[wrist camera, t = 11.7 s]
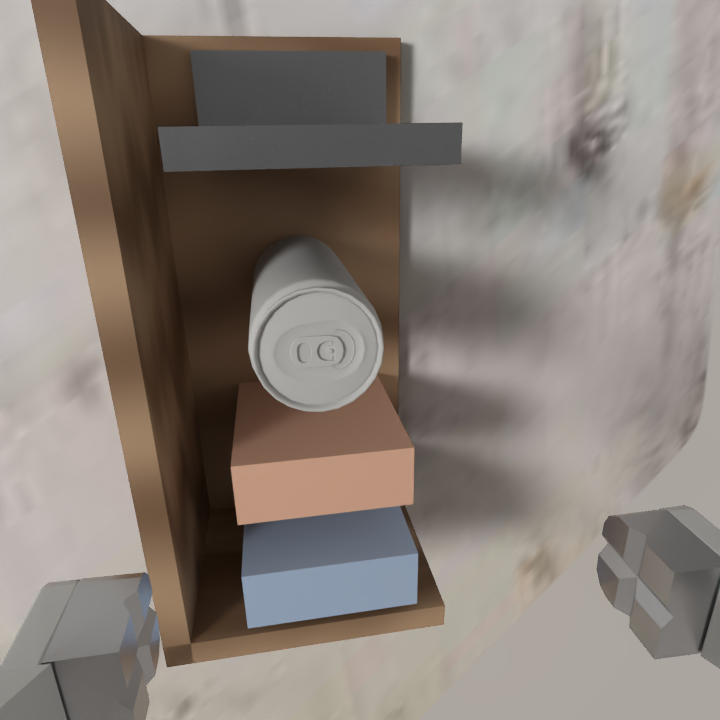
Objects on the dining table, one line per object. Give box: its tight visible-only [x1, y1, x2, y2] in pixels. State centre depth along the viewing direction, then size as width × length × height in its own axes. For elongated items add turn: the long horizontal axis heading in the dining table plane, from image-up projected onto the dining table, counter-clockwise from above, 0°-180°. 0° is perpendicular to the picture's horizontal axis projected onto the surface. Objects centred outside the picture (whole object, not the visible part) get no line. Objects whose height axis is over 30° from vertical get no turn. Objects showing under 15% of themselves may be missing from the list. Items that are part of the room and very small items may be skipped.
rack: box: [31, 0, 445, 667], centre depth 26 cm, size 27×13×11 cm, turn 1°
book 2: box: [241, 506, 418, 628], centre depth 30 cm, size 3×8×10 cm, turn 91°
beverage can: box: [248, 235, 384, 412], centre depth 24 cm, size 5×5×12 cm
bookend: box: [158, 50, 462, 172], centre depth 21 cm, size 5×9×12 cm, turn 91°
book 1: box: [231, 375, 414, 525], centre depth 28 cm, size 3×8×9 cm, turn 91°
